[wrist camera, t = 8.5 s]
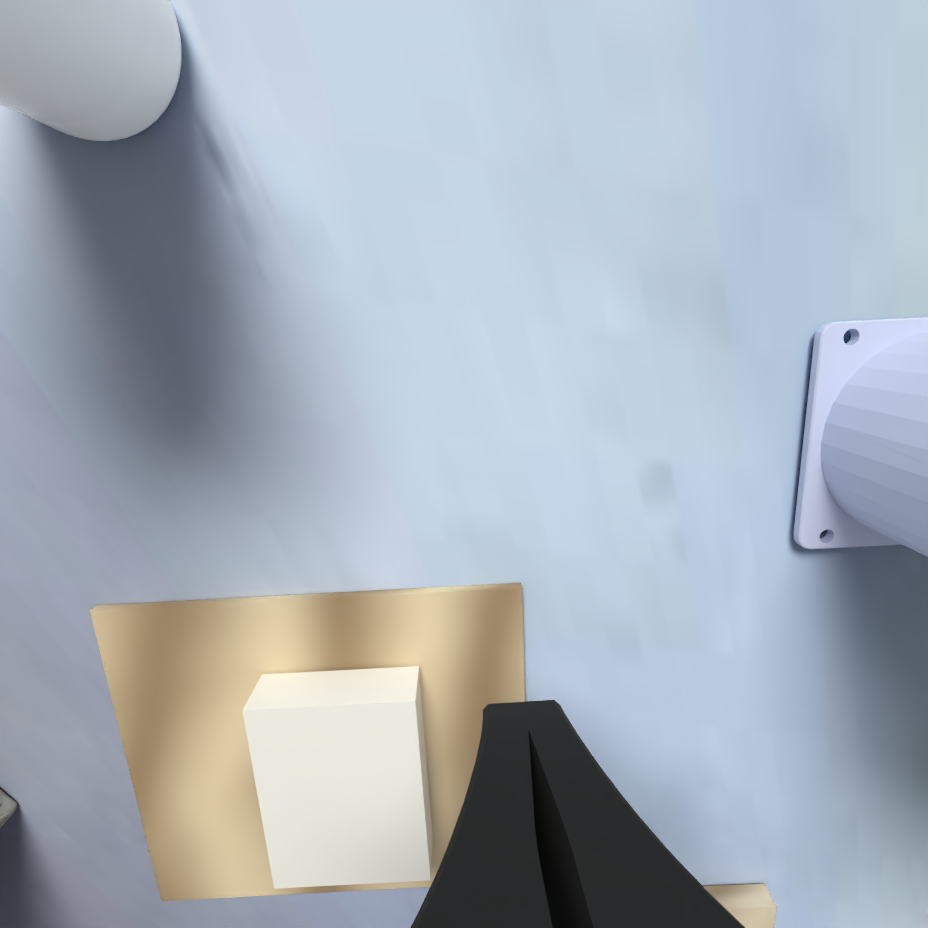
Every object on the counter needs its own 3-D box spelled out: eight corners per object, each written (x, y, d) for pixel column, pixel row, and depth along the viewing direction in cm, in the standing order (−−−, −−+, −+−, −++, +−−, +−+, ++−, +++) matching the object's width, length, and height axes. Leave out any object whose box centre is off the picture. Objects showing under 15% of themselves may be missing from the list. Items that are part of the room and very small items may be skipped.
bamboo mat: (520, 582, 21) (521, 587, 20) (528, 872, 24) (529, 881, 24) (96, 605, 21) (89, 610, 20) (166, 891, 24) (161, 901, 24)
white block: (415, 701, 19) (242, 710, 19) (430, 880, 21) (274, 888, 21) (419, 664, 21) (263, 672, 21) (432, 831, 23) (290, 838, 23)
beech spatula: (766, 860, 24) (779, 883, 23) (759, 929, 25) (771, 953, 24) (471, 872, 24) (472, 894, 23) (476, 939, 25) (476, 964, 24)
